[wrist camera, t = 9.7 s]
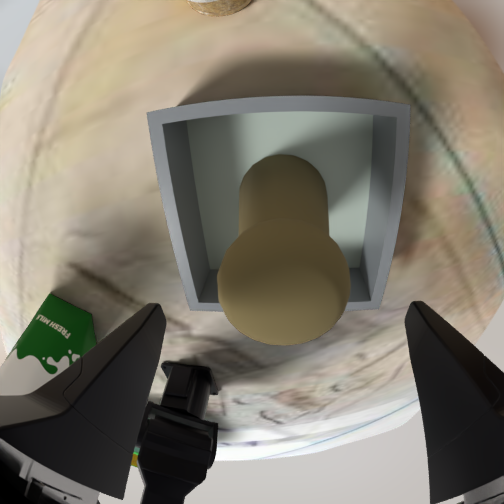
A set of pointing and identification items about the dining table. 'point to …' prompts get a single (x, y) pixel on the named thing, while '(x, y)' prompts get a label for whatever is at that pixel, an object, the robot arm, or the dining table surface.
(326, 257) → the cork
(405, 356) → the dining table surface
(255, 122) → the box
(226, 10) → the sprinkles bottle
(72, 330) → the milk carton
